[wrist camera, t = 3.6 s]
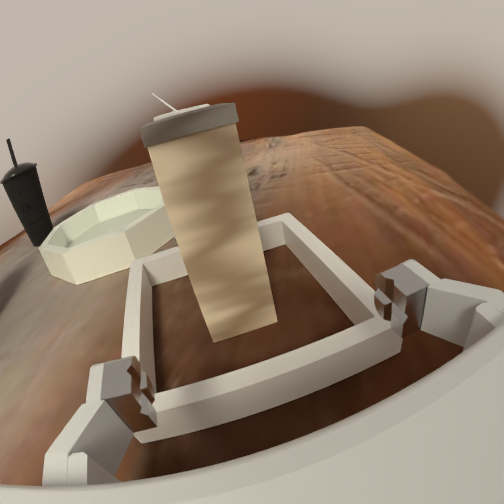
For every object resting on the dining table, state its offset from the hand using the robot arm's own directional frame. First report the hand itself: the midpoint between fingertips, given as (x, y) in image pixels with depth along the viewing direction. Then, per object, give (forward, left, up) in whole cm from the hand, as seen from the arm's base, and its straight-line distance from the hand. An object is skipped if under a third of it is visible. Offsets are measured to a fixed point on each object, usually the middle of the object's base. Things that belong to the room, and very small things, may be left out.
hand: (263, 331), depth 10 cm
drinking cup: (-29, +47, -8) cm, 56 cm away
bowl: (-12, +33, -8) cm, 36 cm away
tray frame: (0, +11, -8) cm, 13 cm away
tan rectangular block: (0, +11, -8) cm, 13 cm away
